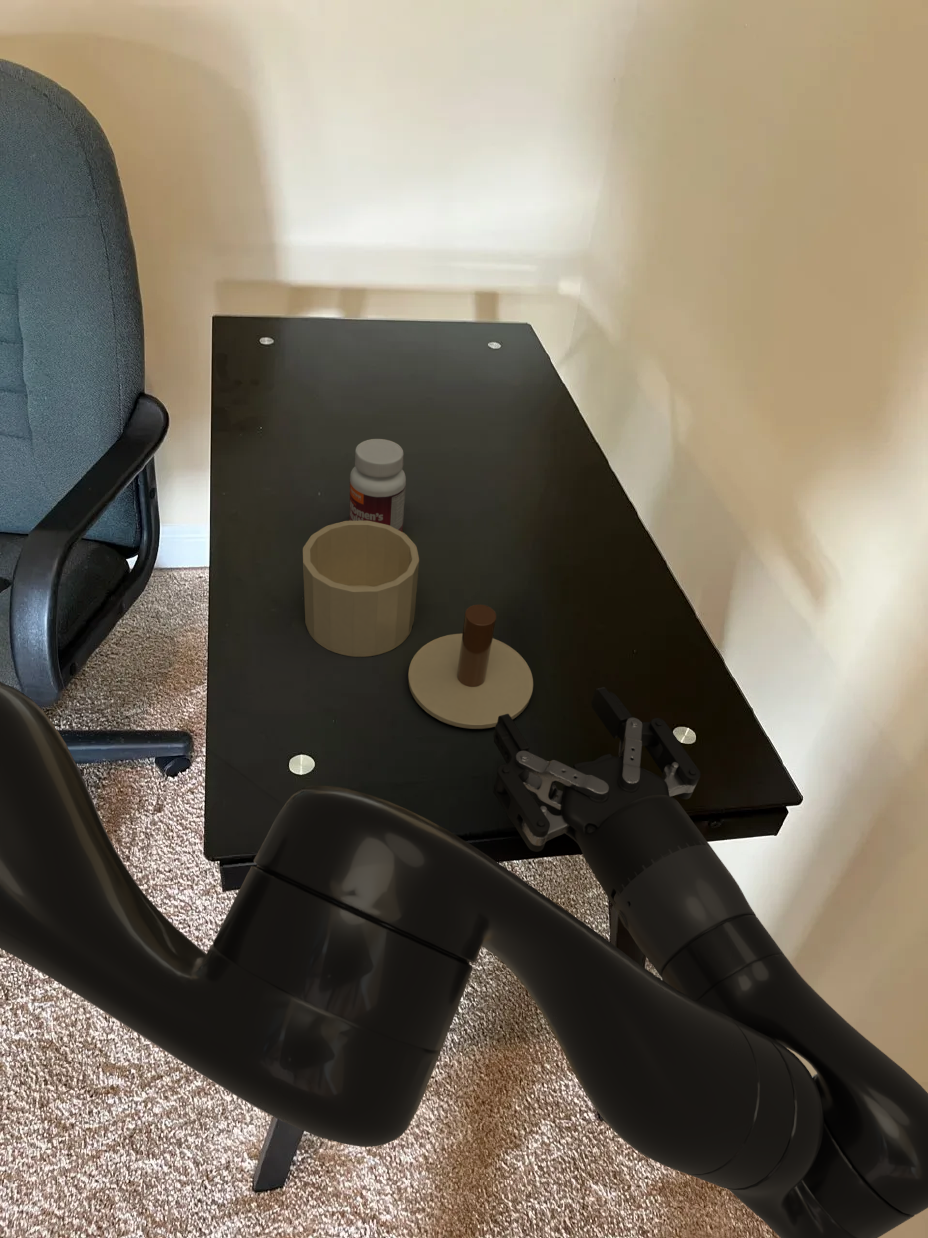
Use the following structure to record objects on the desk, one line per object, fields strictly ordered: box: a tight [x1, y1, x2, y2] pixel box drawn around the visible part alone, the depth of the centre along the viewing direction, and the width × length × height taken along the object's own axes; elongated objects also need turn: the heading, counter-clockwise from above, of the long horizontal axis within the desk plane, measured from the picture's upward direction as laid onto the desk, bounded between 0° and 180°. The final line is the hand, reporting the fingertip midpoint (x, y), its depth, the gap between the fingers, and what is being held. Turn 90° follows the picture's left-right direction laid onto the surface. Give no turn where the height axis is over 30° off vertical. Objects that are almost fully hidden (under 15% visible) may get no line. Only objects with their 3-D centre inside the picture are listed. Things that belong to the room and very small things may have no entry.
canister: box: [302, 520, 420, 658], centre depth 82 cm, size 11×11×8 cm
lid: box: [407, 604, 534, 730], centre depth 77 cm, size 12×12×9 cm
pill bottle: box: [348, 438, 407, 532], centre depth 92 cm, size 6×6×11 cm
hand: (549, 708), depth 64 cm, fingers open, 8 cm apart
